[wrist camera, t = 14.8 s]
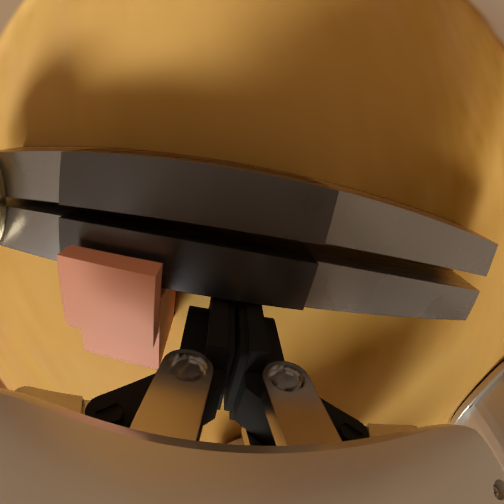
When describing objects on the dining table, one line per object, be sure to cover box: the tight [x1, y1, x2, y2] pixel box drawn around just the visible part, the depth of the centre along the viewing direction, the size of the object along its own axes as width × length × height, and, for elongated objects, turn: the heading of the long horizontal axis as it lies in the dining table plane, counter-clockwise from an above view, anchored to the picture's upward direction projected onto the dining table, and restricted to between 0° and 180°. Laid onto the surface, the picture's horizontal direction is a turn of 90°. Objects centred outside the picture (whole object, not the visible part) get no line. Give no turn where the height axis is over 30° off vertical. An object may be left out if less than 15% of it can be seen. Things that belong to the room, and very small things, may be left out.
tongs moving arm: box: [0, 146, 498, 276], centre depth 9 cm, size 22×2×3 cm, turn 79°
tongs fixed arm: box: [0, 167, 480, 320], centre depth 8 cm, size 24×4×4 cm, turn 78°
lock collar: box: [57, 245, 176, 369], centre depth 9 cm, size 3×4×4 cm
